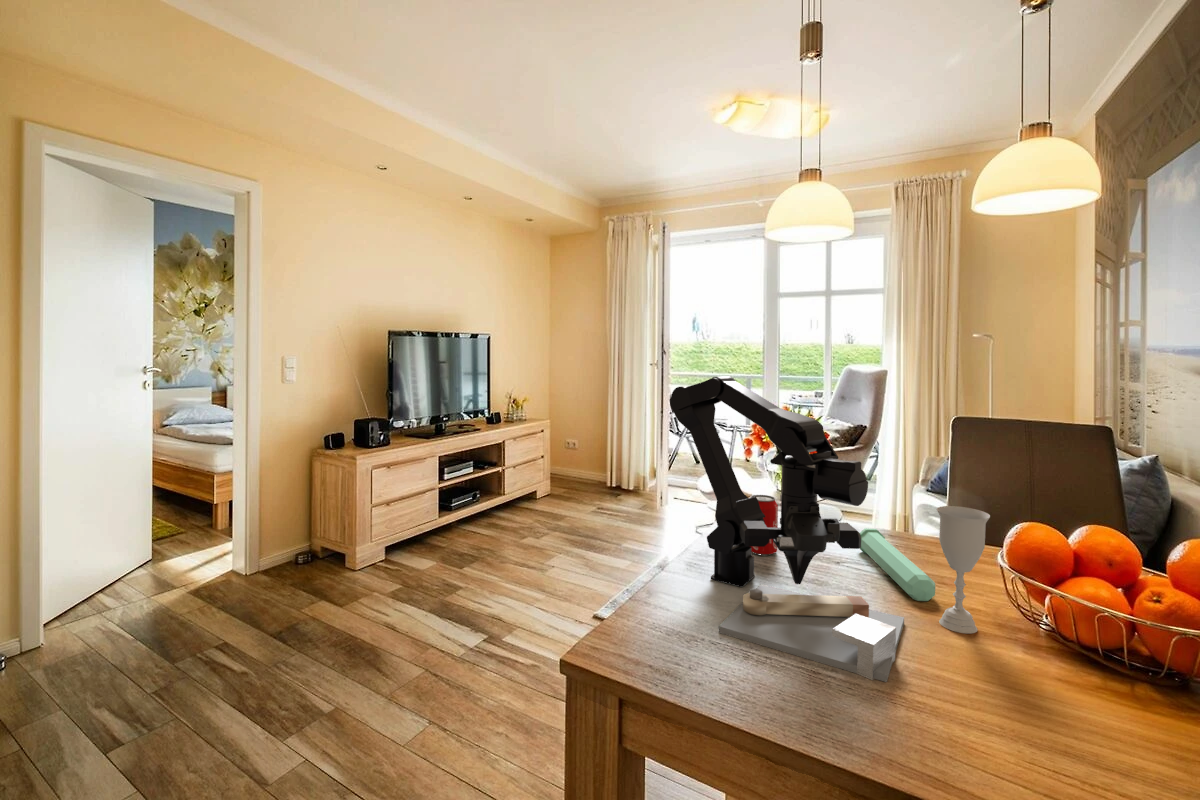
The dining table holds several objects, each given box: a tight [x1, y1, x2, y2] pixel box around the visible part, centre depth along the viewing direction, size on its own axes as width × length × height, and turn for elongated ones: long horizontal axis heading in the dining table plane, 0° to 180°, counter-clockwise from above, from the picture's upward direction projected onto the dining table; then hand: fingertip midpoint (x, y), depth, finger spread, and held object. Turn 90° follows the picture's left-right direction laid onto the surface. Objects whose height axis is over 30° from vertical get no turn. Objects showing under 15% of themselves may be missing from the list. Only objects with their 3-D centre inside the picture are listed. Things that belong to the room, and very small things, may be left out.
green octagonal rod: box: [859, 527, 936, 602], centre depth 105 cm, size 6×6×25 cm
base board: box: [718, 583, 905, 683], centre depth 85 cm, size 23×19×1 cm
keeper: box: [832, 614, 896, 681], centre depth 75 cm, size 6×7×5 cm
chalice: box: [936, 505, 991, 634], centre depth 85 cm, size 7×7×18 cm
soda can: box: [749, 494, 779, 556], centre depth 118 cm, size 6×6×12 cm
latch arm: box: [742, 588, 870, 618], centre depth 88 cm, size 19×4×3 cm, turn 85°
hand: (797, 583), depth 93 cm, fingers closed
